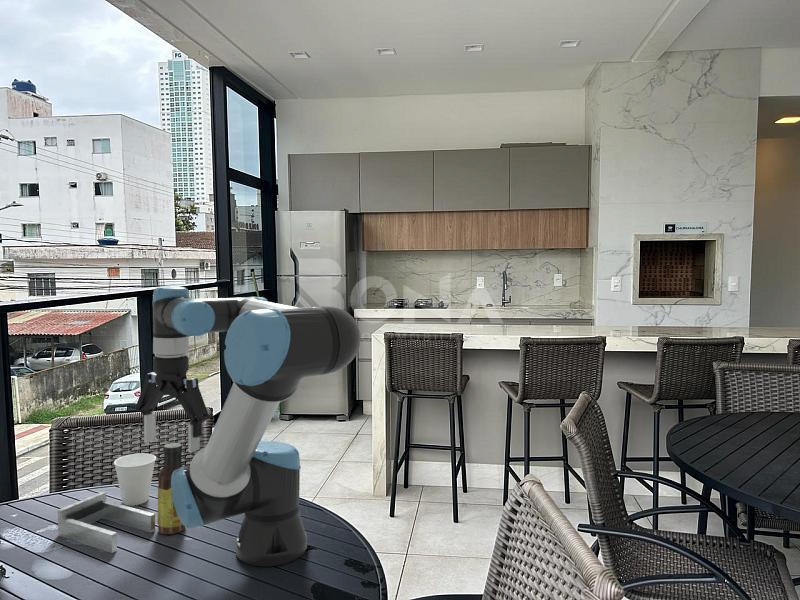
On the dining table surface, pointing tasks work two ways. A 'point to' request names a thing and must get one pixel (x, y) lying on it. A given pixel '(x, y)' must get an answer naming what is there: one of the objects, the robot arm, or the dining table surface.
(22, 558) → the dining table surface
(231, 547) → the dining table surface
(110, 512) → the frame
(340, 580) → the dining table surface
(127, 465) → the cup
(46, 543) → the dining table surface
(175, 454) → the sauce bottle
